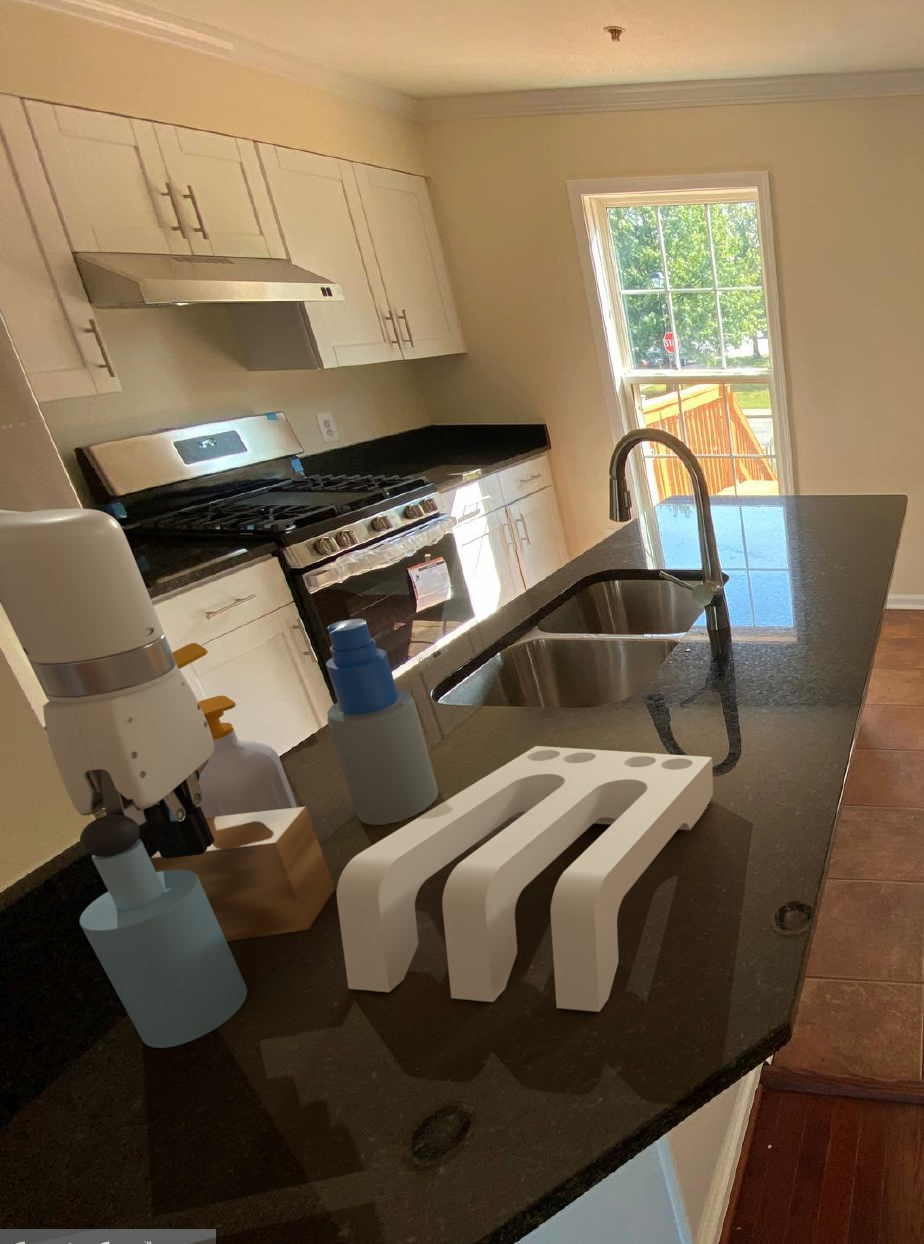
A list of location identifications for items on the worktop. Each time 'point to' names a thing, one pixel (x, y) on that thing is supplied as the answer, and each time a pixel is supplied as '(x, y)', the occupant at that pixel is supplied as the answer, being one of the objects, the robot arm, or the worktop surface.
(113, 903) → the bottle
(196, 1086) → the worktop surface
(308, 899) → the oak block
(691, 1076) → the worktop surface
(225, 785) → the soap bottle
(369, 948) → the bracket
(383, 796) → the spray bottle
